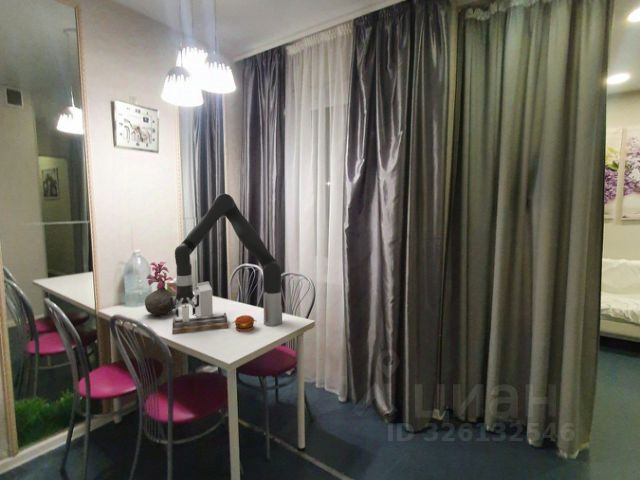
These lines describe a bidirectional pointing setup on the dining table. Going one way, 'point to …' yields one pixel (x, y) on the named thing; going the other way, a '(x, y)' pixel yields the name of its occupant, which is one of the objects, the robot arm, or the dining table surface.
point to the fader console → (199, 324)
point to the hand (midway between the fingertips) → (185, 315)
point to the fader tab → (185, 313)
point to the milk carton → (204, 299)
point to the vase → (159, 293)
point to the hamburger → (244, 323)
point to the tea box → (173, 285)
